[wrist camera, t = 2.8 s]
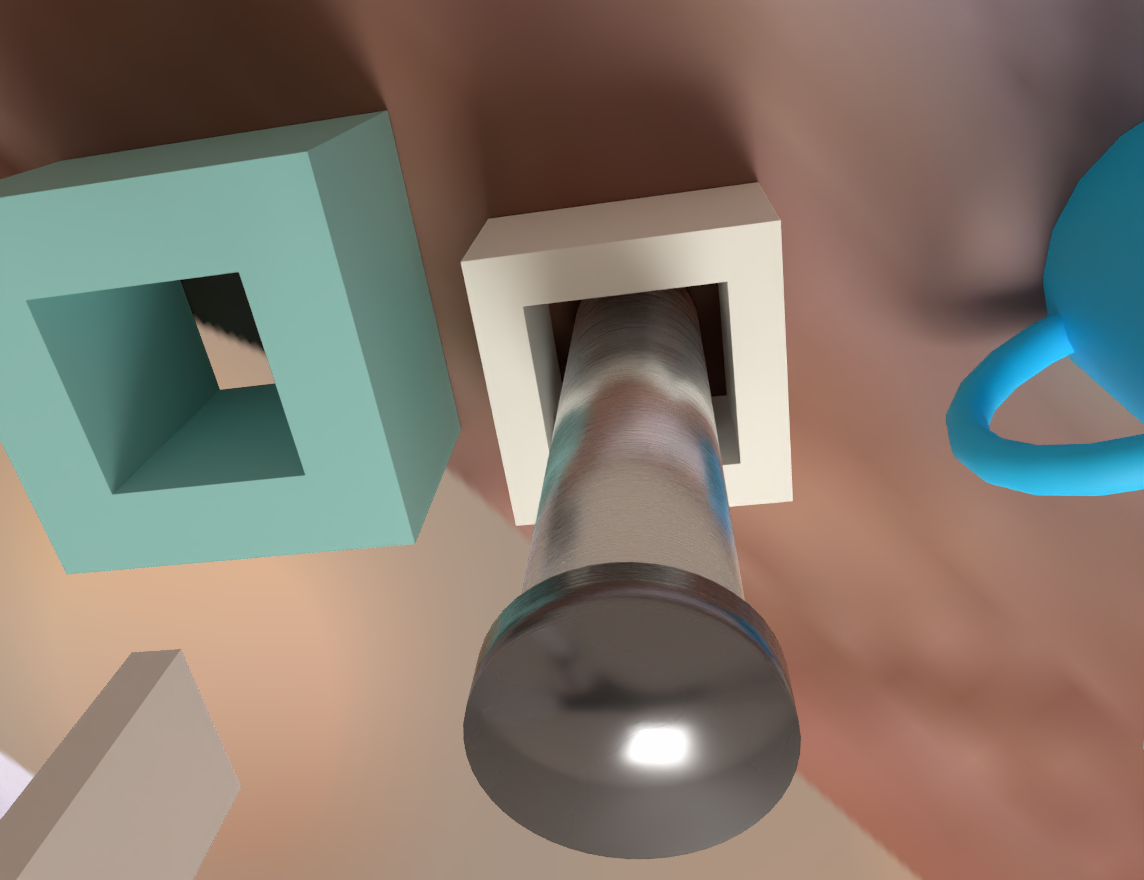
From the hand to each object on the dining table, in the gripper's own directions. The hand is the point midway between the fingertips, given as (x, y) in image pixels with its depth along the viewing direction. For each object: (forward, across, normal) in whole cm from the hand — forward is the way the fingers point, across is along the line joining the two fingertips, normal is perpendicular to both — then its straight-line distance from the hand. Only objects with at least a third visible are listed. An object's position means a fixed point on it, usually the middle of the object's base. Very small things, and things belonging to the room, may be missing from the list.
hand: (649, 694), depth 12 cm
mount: (+14, 0, 0) cm, 14 cm away
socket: (+14, -10, +2) cm, 17 cm away
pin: (+14, 0, 0) cm, 14 cm away
